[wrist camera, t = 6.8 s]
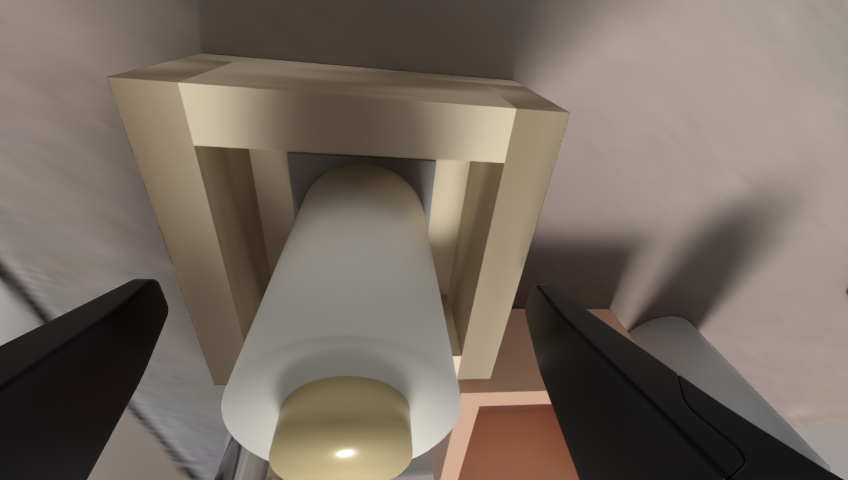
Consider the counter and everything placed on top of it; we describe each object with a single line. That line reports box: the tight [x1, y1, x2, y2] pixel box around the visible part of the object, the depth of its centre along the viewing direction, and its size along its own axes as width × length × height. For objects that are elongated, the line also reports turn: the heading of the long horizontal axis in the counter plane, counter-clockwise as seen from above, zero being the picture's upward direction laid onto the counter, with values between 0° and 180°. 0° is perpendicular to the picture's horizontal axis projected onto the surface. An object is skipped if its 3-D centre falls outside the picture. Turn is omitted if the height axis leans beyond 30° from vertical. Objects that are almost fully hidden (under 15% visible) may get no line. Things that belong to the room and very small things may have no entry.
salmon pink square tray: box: [431, 309, 636, 480], centre depth 17 cm, size 8×8×4 cm
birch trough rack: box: [107, 53, 570, 385], centre depth 11 cm, size 9×9×4 cm
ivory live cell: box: [221, 163, 461, 480], centre depth 9 cm, size 4×4×8 cm
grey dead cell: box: [629, 316, 830, 471], centre depth 16 cm, size 4×4×8 cm
